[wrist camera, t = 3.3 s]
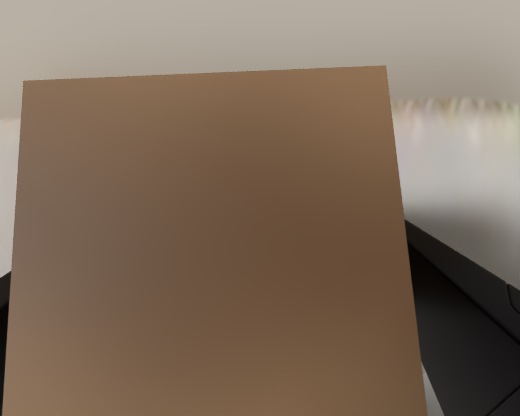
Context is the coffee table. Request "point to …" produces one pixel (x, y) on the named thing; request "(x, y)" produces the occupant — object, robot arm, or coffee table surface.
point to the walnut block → (211, 249)
